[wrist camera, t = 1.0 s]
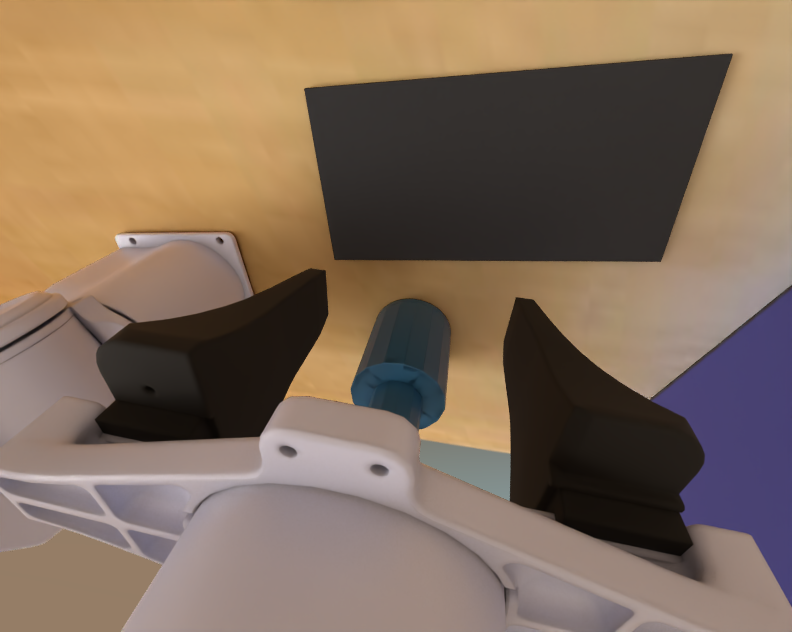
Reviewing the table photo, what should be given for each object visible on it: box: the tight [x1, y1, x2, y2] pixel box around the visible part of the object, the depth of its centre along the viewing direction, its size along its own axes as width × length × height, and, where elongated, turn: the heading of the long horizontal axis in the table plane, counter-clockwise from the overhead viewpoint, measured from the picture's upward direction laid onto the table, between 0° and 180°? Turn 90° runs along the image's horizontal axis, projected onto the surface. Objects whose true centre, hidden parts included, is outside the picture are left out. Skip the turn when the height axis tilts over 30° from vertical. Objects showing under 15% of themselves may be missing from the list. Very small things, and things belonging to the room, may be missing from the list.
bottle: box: [351, 299, 451, 431], centre depth 24 cm, size 6×6×10 cm
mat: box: [304, 54, 733, 262], centre depth 21 cm, size 20×10×1 cm, turn 94°
